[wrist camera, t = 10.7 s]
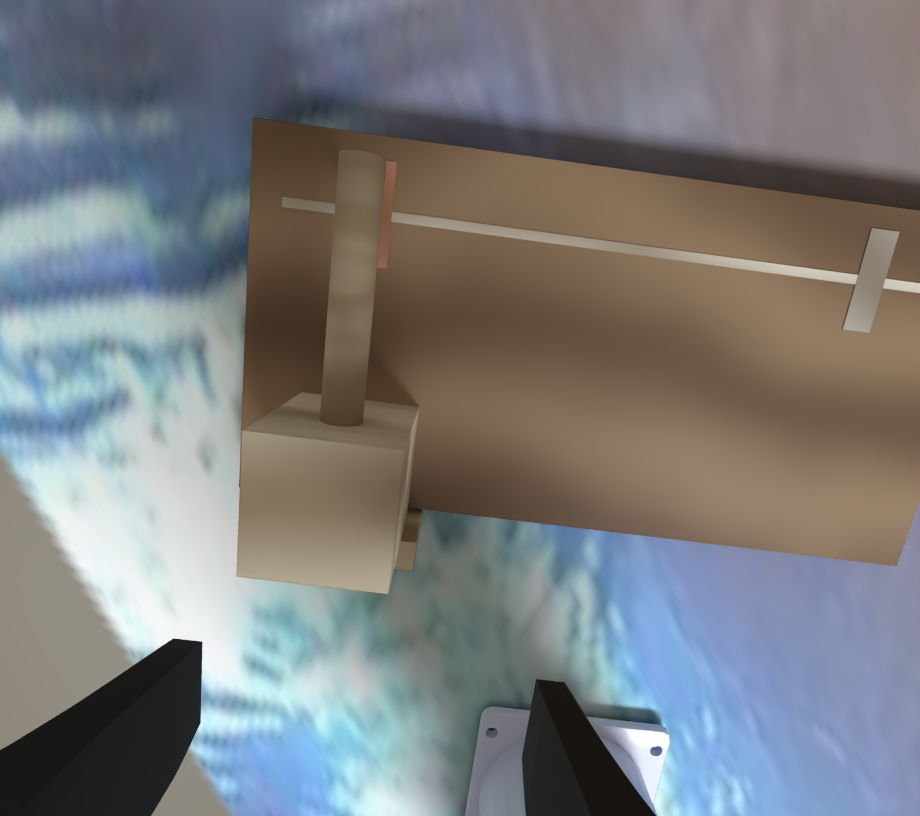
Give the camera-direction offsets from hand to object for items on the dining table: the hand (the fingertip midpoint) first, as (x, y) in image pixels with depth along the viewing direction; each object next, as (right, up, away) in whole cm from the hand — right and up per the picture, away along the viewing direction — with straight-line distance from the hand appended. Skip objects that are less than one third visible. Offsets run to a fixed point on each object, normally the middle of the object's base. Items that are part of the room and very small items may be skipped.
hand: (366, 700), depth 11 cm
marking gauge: (-1, +8, +8) cm, 11 cm away
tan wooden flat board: (+7, +8, +8) cm, 13 cm away
